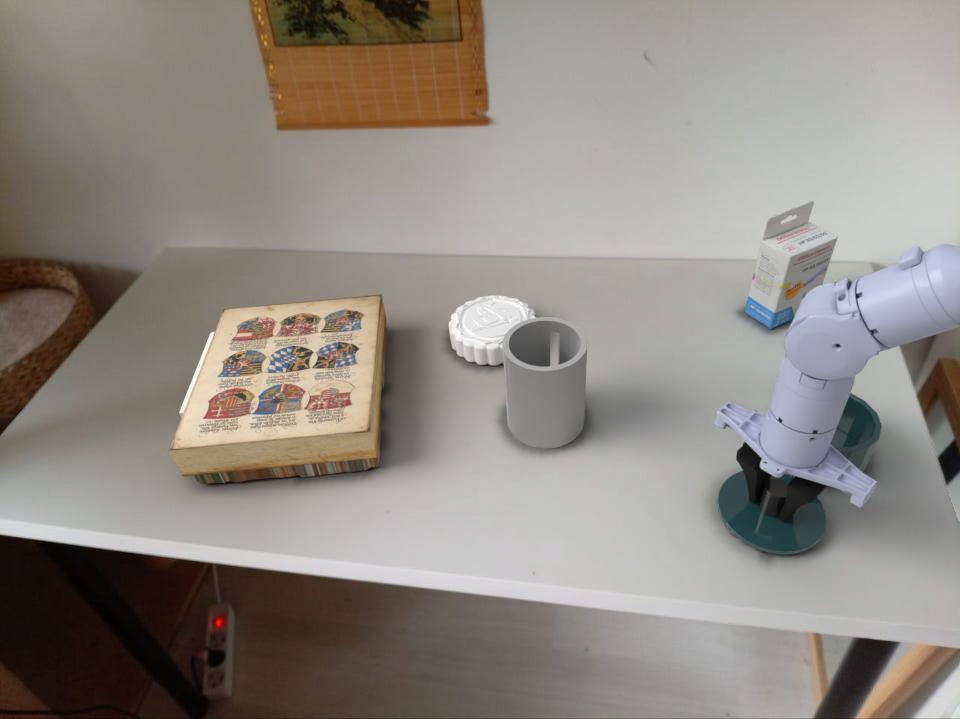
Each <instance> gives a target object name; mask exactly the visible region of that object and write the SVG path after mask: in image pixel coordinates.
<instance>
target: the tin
mask: <svg viewBox="0 0 960 719" xmlns="http://www.w3.org/2000/svg"><path fill="white" fill-rule="evenodd" d="M882 429H883V425H882V422H881V420H880V417H879V414H878V413H877V411H875V410H874V408H872V406H871V405H870V404H869V403H868V402H867V401H865V400H864V399H862V397H859V396H857V395H856V394H854V393H852V392H851V393H850V395H849V398H848V400H847V403H846V405H845V408H844V410H843V413H842V416H841V418H840V421H839V424H838V426H837V429H836V431H835V434H834V436H833V439H832V441H831V445H832V446H833V447H834V448H836V449H837V450H838V451H839V452H840V453H841V454H842V455H843V456H845V457H846V458H847V459H848V460H849V461H850V462H851V463H852V464H853V465H855V466H856V467H857V468H858V469H859V470H860V471H862V472H863V473H864V471H866V468H867V466H868V464H869V462H870V460H871V457H872V456H873V453H874V451H875V448H876V447H877V444H878V442H879V440H880V437H881V432H882Z"/></svg>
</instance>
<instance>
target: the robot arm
mask: <svg viewBox="0 0 960 719" xmlns="http://www.w3.org/2000/svg"><path fill="white" fill-rule="evenodd" d="M957 328H960V246H958V245H954V244H948V243H943V244H939V245H937V246H934V247H932V248H930V249H927V250H925V251H923V249H922V247H921V246H918V245H916V246H914V247H912V248H908V249H906V250H904V251H902V252H901V253H900V254H899V258H898V261H897V262H895V263H894V264H891V265H888V266H886V267H883V268H881V269H879V270H876V271H874V272H872V273H869V274H866V275H864V276H861V277H859V278H856V279H854V280H851V278H849V277H847V278H843V279H842V280H839V281H837V282H827V283H823V284H822V285H820V286H817V287H815V288H813V289H812V290H811V291H809V292H808V293H807V294H806V296H805V298H802V299H801V301H800V306H799V308H798V310H797V313H796V315H795V317H794V319H792V320H791V323H790V325H789V327H788V329H787V332H786V333H785V334H786V335H785V340H784V344H783V348H784V358H783V359H782V361H781V362H780V364H779V368H778V372H777V375H776V378H775V381H774V384H773V385H774V386H773V389H772V392H771V395H770V399H769V403H768V406H767V410H766V413H764V412H760V411H757V410H754V409H750V408H746V407H743V406H740V405H738V404H735V403H733V402H731V401H728V400H727V401H726V402H725V403H724V404H723V405H722V406H721V407H720V408H719V409H718V410H717V411H716V415H715V420H714V423H713V424H714V426H716V427H717V428H718V429H722V430H725V429H727V428H729V429H731V430H733V431H734V432H735V433H736V434H737V435H738V436H739V437H740V438H741V439H742V440H743V441H744V442H743V443H742V446H741V447H739V448H738V449H737V451H736V453H735V455H736V456H735V460H736V462H737V463H738V465H739V466H740V469H741V471H743V472H744V474H745V477H746V481H747V486H748V494H749V501H750V502H752V503H753V504H755V503H756V502H757V501H758V500H759V499H760V498H761V495H762V492H763V488H764V485H765V483H766V481H767V480H769V479H770V478H771V475H772V476H774V477H782V476H783V475H784V474H787V475H789V476H794V477H793V479H792V480H791V482H790V483H789V484H788V485H787V487H786V490H787V493H786V500H785V504H784V506H783V508H782V510H781V512H780V514H779V520H781V521H782V522H784V523H786V522H787V521H788V520H789V519H790V517H791V516H792V515H793V514H794V513H795V511H796V510H797V509H798V508H799V507H801V506H803V505H805V504H808V503H810V502H812V501H813V500H815V499H816V498H817V497H818V498H819V496H820V495H821V494H822V493H823V491H824V490H825V489H826V488H827V487H831V488H834V489H837V490H839V491H840V492H843V493H844V494H846V495H848V496H849V497H850V499H849V502H850V504H853V505H854V506H857V507H858V508H860V509H863V507H864V506H865V504H866V503H867V502H868V501H869V499H870V498H871V496H872V494H873V493H874V491H875V489H876V487H877V484H878V482H879V481H877V480H875V479H874V478H872V477H870V476H869V475H868V474H866V473H864V471H863V472H862V471H860V470H859V469H858V468H857V467H856V466H855V465H853V464H852V463H851V462H850V461H849V460H848V459H847V458H846V457H845V456H843V455H842V454H841V453H840V452H839V451H838V450H837V449H836V448H834V447H833V446H832V445H831V441H832V439H833V436H834V434H835V431H836V429H837V426H838V424H839V421H840V418H841V416H842V413H843V410H844V408H845V405H846V403H847V400H848V398H849V395H850V393H852V390H853V388H854V385H855V378H856V377H855V376H857V375H859V374H860V373H861V372H862V371H863V369H865V367H866V366H867V363H868V361H869V360H870V359H871V358H872V357H876V356H879V354H880V352H885V351H888V350H891V349H894V348H897V347H900V346H901V347H902V346H904V345H908V344H910V343H913V342H916V341H920V340H923V339H926V338H929V337H931V336H932V337H933V336H935V335H938V334H942V333H946V332H948V331H951V330H954V329H957Z"/></svg>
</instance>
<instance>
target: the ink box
mask: <svg viewBox="0 0 960 719" xmlns="http://www.w3.org/2000/svg"><path fill="white" fill-rule="evenodd" d="M813 208H814V201H813V200H811V201H808V202H806V203H804V204H801V205H798V206H794V207H792V208H790V209H787V210H785V211H783V212H780V213H779V214H776V215H773V216H770V217H769V218H768V220H767V222H766V226H765V228H764V232H763V237H762V239H761V240H760V244H759V250H758V254H757V258H756V263H755V266H754V270H753V274H752V278H751V283H750V287H749V292H748V295H747V300H746V304H745V309H744V313H745V314H746V315H748V316H749V317H751V318H752V319H754V320H756V321H757V322H759V323H760V324H762V325H763V326H765V327H766V328H768V329H769V330H772V329H774V328H777V327H779V326H781V325H783V324H785V323H788V322H790V321H793V319H794V317H795V315H796V313H797V310H798V308H799V306H800V301H801V299H802V298H805V296H806V294H807V293H808V292H809V291H811V290H812V289H813V288H815V287H817V286H820V285H823V284H824V281H825V279H826V274H827V273H828V268H829V266H830V263H831V260H832V256H833V253H834V250H835V248H836V244H837V241H838V239H839V237H838V235H836V234H833V233H831V232H829V231H828V230H826V229H824V228H823V227H821V226H818V225H817V224H815V223H813V222H811V221H809V220H810V217H811V214H812V210H813ZM790 216H791V217H794V216H795V218H793V219H791V220H789V221H785V222H783V221H784V220H787V219H788V218H789V217H790ZM782 222H783V223H782Z"/></svg>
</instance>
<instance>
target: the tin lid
mask: <svg viewBox="0 0 960 719" xmlns="http://www.w3.org/2000/svg"><path fill="white" fill-rule="evenodd" d="M793 478H794V477H793V476H792V475H790V474H787V473H785V474H784V475H783V476H782V477H774V476H772V475H771V478H770V479H769V480H767V481H766V483H765V485H764V488H763V492H762V495H761V498H760V499H759V500H758V501H757V502H756V503H755V504H753V503H752V502H750V501H749V494H748V486H747V481H746V477H745V474H744V472H743V470H741V471H738V472H736V473H734V474H732V475H731V476H729V477H728V478H727V479H726V480H725V481H724V482H723V483H722V485H721V487H720V488H719V492H718V494H717V500H716V501H717V502H716V503H717V510H718V514H719V516H720V519H721V520H722V522H723V524H724V525H725V527H726V528H727V529H728V530H729V532H731V533H732V534H733V535H734V536H735V537H736V538H737V539H739V540H740V541H741V542H742V543H745V544H746V545H748V546H750V547H752V548H754V549H756V550H759V551H762V552H764V553H765V552H766V553H770V554H776V555H795V554H800V553H802V552H806V551H808V550H809V549H811V548H812V547H814V546H815V545H817V543H819V541H820V540H821V539H822V537H823V535H824V532H825V530H826V526H827V517H826V511H825V508H824V506H823V503H822V501H821V500H820V498H819V496H818V497H817V498H816V499H815V500H813V501H812V502H810V503H808V504H805V505H803V506H801V507H799V508H798V509H797V510H796V511H795V513H794V514H793V515H792V516H791V517H790V519H789V520H788V521H787V522H786V523H784V522H782V521H781V520H779V514H780V512H781V510H782V508H783V506H784V504H785V500H786V493H787V490H786V487H787V485H788V484H789V483H790V482H791V480H792V479H793Z"/></svg>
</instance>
